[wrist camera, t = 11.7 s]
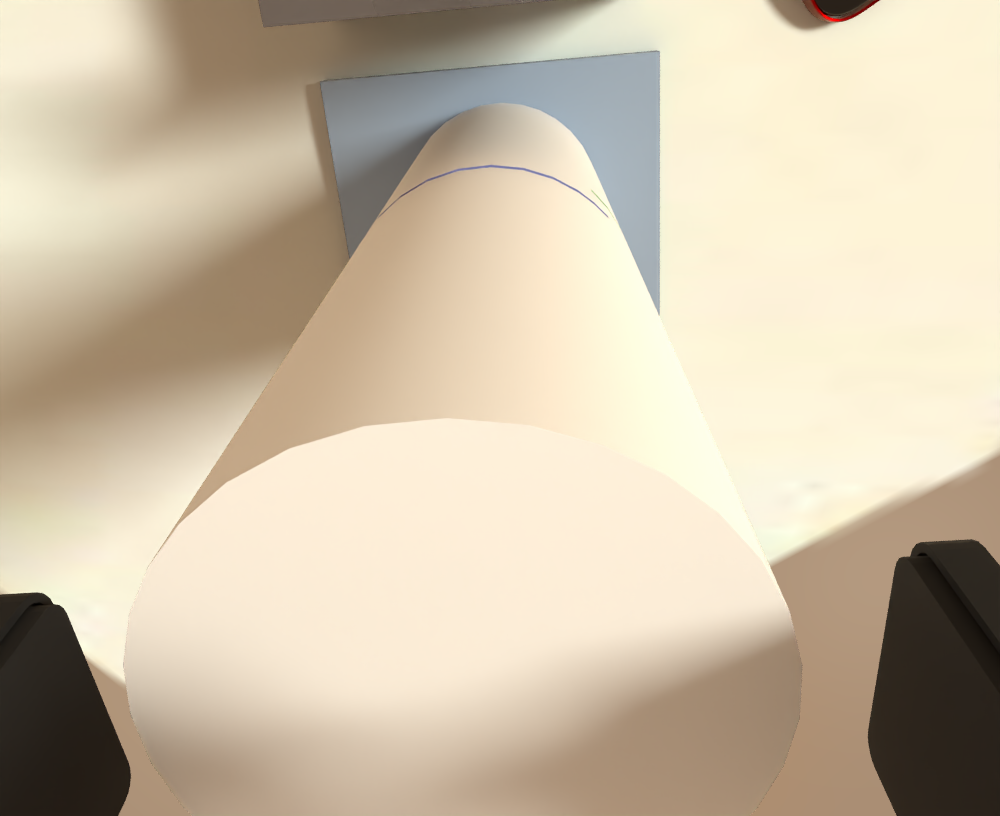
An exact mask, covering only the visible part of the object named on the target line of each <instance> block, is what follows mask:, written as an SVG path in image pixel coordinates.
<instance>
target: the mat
mask: <svg viewBox="0 0 1000 816" xmlns="http://www.w3.org/2000/svg"><path fill="white" fill-rule="evenodd" d="M320 86H321V92H322V98H323V104H324V110H325V116H326V122H327V128H328V134H329V139H330V145H331V151H332V157H333V163H334V169H335V175H336V181H337V187H338V193H339V199H340V205H341V211H342V217H343V223H344V229H345V235H346V241H347V247H348V252H349V258H351V257H352V255H353V254H354V252H355V251H356V249H357V248H358V246H359V244H360V243H361V241H362V240H363V239H364V237H365V235H366V234H367V232H368V231H369V229H370V228H371V226H372V225H373V223H374V222H375V220H376V219H377V217H378V215H379V214H380V212H381V211H382V209H383V208H384V206H385V205H386V203H387V202H388V200H389V199H390V197H391V196H392V194H393V193H394V191H395V190H396V188H397V186H398V185H399V183H400V182H401V180H402V179H403V177H404V176H405V174H406V173H407V171H408V170H409V168H410V167H411V165H412V164H413V162H414V161H415V159H416V158H417V156H418V154H419V153H420V151H421V150H422V149H423V147H424V146H425V144H426V143H427V141H428V140H429V139H430V137H431V136H432V135H433V134H434V133H435V132H436V131H437V130H438V129H439V128H440V127H441V126H442V125H443V124H444V123H445V122H447V121H449V120H450V119H452V118H453V117H455V116H457V115H458V114H460V113H462V112H464V111H467V110H470V109H472V108H475V107H478V106H481V105H488V104H496V103H510V104H521V105H525V106H528V107H531V108H534V109H538V110H541V111H542V112H544V113H546V114H548V115H550V116H552V117H553V118H555V119H557V120H558V121H559V122H560V123H562V124H563V125H564V126H565V127H566V128H568V129H569V130H570V131H571V132H572V133H573V135H574V136H575V137H576V138H577V139H578V141H579V142H580V143H581V144H582V146H583V148H584V150H585V151H586V153H587V155H588V157H589V159H590V161H591V163H592V165H593V167H594V170H595V172H596V174H597V177H598V179H599V181H600V183H601V186H602V188H603V190H604V192H605V195H606V197H607V199H608V201H609V204H610V206H611V208H612V211H613V213H614V215H615V217H616V220H617V222H618V224H619V226H620V229H621V231H622V233H623V235H624V238H625V240H626V242H627V245H628V247H629V249H630V251H631V254H632V256H633V258H634V260H635V263H636V265H637V267H638V269H639V272H640V274H641V276H642V278H643V281H644V283H645V285H646V288H647V290H648V292H649V294H650V297H651V299H652V301H653V303H654V306H655V308H656V310H657V312H658V315H659V313H660V52H659V51H647V52H636V53H625V54H614V55H602V56H591V57H580V58H569V59H558V60H547V61H536V62H524V63H513V64H502V65H491V66H480V67H469V68H458V69H446V70H435V71H424V72H413V73H402V74H391V75H380V76H369V77H357V78H346V79H335V80H324V81H321V82H320Z"/></svg>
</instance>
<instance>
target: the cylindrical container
mask: <svg viewBox="0 0 1000 816" xmlns="http://www.w3.org/2000/svg"><path fill="white" fill-rule="evenodd" d="M123 667H124V674H125V681H126V687H127V694H128V700H129V707H130V714H131V717H132V719H133V722H134V724H135V727H136V729H137V731H138V734H139V736H140V738H141V741H142V743H143V745H144V747H145V750H146V752H147V755H148V757H149V759H150V762H151V764H152V765H153V766H154V768H155V769H156V771H157V772H158V774H159V775H160V776H161V777H162V779H163V780H164V782H165V783H166V785H167V786H168V787H169V789H170V790H171V791H172V793H173V794H174V796H175V797H176V798H177V800H178V801H179V802H180V804H181V805H182V806H183V808H184V809H186V810H187V811H188V812H189V813H190V814H191V815H192V816H750V815H751V814H752V813H753V812H754V811H755V810H756V809H757V808H758V806H759V805H760V803H761V802H762V800H763V798H764V797H765V795H766V794H767V792H768V791H769V789H770V787H771V786H772V784H773V783H774V781H775V779H776V778H777V776H778V774H779V773H780V771H781V770H782V768H783V767H784V764H785V761H786V758H787V755H788V752H789V749H790V746H791V743H792V740H793V737H794V734H795V731H796V728H797V725H798V722H799V718H800V701H801V682H802V662H801V658H800V654H799V649H798V645H797V641H796V636H795V632H794V628H793V624H792V619H791V615H790V611H789V609H788V606H787V604H786V602H785V600H784V598H783V595H782V593H781V591H780V588H779V586H778V584H777V582H776V579H775V577H774V575H773V573H772V570H771V568H770V566H769V564H768V561H767V559H766V557H765V554H764V552H763V550H762V548H761V545H760V543H759V541H758V539H757V536H756V534H755V532H754V530H753V527H752V525H751V523H750V521H749V518H748V516H747V514H746V511H745V509H744V507H743V505H742V502H741V500H740V498H739V496H738V493H737V491H736V489H735V487H734V484H733V482H732V480H731V478H730V475H729V473H728V471H727V468H726V466H725V464H724V462H723V459H722V457H721V455H720V453H719V450H718V448H717V446H716V444H715V441H714V439H713V437H712V435H711V432H710V430H709V428H708V426H707V423H706V421H705V419H704V416H703V414H702V412H701V410H700V407H699V405H698V403H697V401H696V398H695V396H694V394H693V392H692V389H691V387H690V385H689V383H688V380H687V378H686V376H685V373H684V371H683V369H682V367H681V364H680V362H679V360H678V358H677V355H676V353H675V351H674V349H673V346H672V344H671V342H670V340H669V337H668V335H667V333H666V331H665V328H664V326H663V324H662V321H661V319H660V317H659V315H658V312H657V310H656V308H655V306H654V303H653V301H652V299H651V297H650V294H649V292H648V290H647V288H646V285H645V283H644V281H643V278H642V276H641V274H640V272H639V269H638V267H637V265H636V263H635V260H634V258H633V256H632V254H631V251H630V249H629V247H628V245H627V242H626V240H625V238H624V235H623V233H622V231H621V229H620V226H619V224H618V222H617V220H616V217H615V215H614V213H613V211H612V208H611V206H610V204H609V201H608V199H607V197H606V195H605V192H604V190H603V188H602V186H601V183H600V181H599V179H598V177H597V174H596V172H595V170H594V167H593V165H592V163H591V161H590V159H589V157H588V155H587V153H586V151H585V150H584V148H583V146H582V144H581V143H580V142H579V141H578V139H577V138H576V137H575V136H574V135H573V133H572V132H571V131H570V130H569V129H568V128H566V127H565V126H564V125H563V124H562V123H560V122H559V121H558V120H557V119H555V118H553V117H552V116H550V115H548V114H546V113H544V112H542V111H541V110H538V109H534V108H531V107H528V106H525V105H521V104H510V103H496V104H488V105H481V106H478V107H475V108H472V109H470V110H467V111H464V112H462V113H460V114H458V115H457V116H455V117H453V118H452V119H450V120H449V121H447V122H445V123H444V124H443V125H442V126H441V127H440V128H439V129H438V130H437V131H436V132H435V133H434V134H433V135H432V136H431V137H430V139H429V140H428V141H427V143H426V144H425V146H424V147H423V149H422V150H421V151H420V153H419V154H418V156H417V158H416V159H415V161H414V162H413V164H412V165H411V167H410V168H409V170H408V171H407V173H406V174H405V176H404V177H403V179H402V180H401V182H400V183H399V185H398V186H397V188H396V190H395V191H394V193H393V194H392V196H391V197H390V199H389V200H388V202H387V203H386V205H385V206H384V208H383V209H382V211H381V212H380V214H379V215H378V217H377V219H376V220H375V222H374V223H373V225H372V226H371V228H370V229H369V231H368V232H367V234H366V235H365V237H364V239H363V240H362V241H361V243H360V244H359V246H358V248H357V249H356V251H355V252H354V254H353V255H352V257H351V258H350V260H349V261H348V263H347V264H346V266H345V267H344V269H343V270H342V272H341V273H340V275H339V276H338V278H337V280H336V281H335V283H334V284H333V286H332V287H331V289H330V290H329V292H328V293H327V295H326V296H325V298H324V299H323V301H322V302H321V304H320V305H319V307H318V309H317V310H316V312H315V313H314V315H313V316H312V318H311V319H310V321H309V322H308V324H307V325H306V327H305V328H304V330H303V331H302V333H301V334H300V336H299V338H298V339H297V341H296V342H295V344H294V345H293V347H292V348H291V350H290V351H289V353H288V354H287V356H286V357H285V359H284V360H283V362H282V363H281V365H280V366H279V368H278V370H277V371H276V373H275V374H274V376H273V377H272V379H271V380H270V382H269V383H268V385H267V386H266V388H265V389H264V391H263V392H262V394H261V395H260V397H259V399H258V400H257V402H256V403H255V405H254V406H253V408H252V409H251V411H250V412H249V414H248V415H247V417H246V418H245V420H244V421H243V423H242V424H241V426H240V428H239V429H238V431H237V432H236V434H235V435H234V437H233V438H232V440H231V441H230V443H229V444H228V446H227V447H226V449H225V450H224V452H223V453H222V455H221V456H220V458H219V460H218V461H217V463H216V464H215V466H214V467H213V469H212V470H211V472H210V473H209V475H208V476H207V478H206V479H205V481H204V482H203V484H202V485H201V487H200V489H199V490H198V492H197V493H196V495H195V496H194V498H193V499H192V501H191V502H190V504H189V505H188V507H187V508H186V510H185V511H184V513H183V514H182V516H181V518H180V519H179V521H178V522H177V524H176V525H175V527H174V528H173V530H172V531H171V533H170V534H169V536H168V537H167V539H166V540H165V542H164V543H163V545H162V546H161V548H160V550H159V551H158V553H157V554H156V556H155V557H154V559H153V560H152V562H151V563H150V565H149V566H148V568H147V570H146V573H145V575H144V578H143V580H142V583H141V586H140V588H139V591H138V593H137V596H136V598H135V601H134V603H133V606H132V608H131V611H130V613H129V619H128V627H127V636H126V644H125V653H124V661H123Z"/></svg>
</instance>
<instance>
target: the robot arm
mask: <svg viewBox="0 0 1000 816" xmlns="http://www.w3.org/2000/svg"><path fill="white" fill-rule="evenodd" d="M868 743H869V749H870V754H871V758H872V761H873V764H874V767H875V769H876V771H877V774H878V776H879V778H880V780H881V782H882V785H883V787H884V789H885V791H886V793H887V796H888V798H889V800H890V802H891V804H892V806H893V809H894V811H895V813H896V815H897V816H1000V565H999V564H998V563H997V562H996V560H995V559H994V558H993V557H992V556H991V555H990V553H989V552H988V551H987V550H986V548H985V547H984V546H983V545H981V544H980V543H979V542H978V541H975V540H972V539H971V540H954V541H938V542H937V541H936V542H921V543H918V544H916V545H915V547H914V548H913V549H912V552H911V556H910V557H901V558H899V560H898V561H897V563H896V567H895V571H894V577H893V583H892V590H891V596H890V601H889V608H888V614H887V620H886V626H885V632H884V639H883V644H882V650H881V656H880V662H879V669H878V674H877V680H876V686H875V692H874V698H873V705H872V711H871V717H870V723H869V729H868ZM130 779H131V774H130V766H129V763H128V760H127V758H126V755H125V753H124V750H123V748H122V746H121V743H120V741H119V739H118V736H117V734H116V731H115V729H114V726H113V724H112V722H111V719H110V717H109V714H108V712H107V709H106V707H105V705H104V702H103V700H102V697H101V695H100V692H99V690H98V688H97V685H96V683H95V680H94V678H93V676H92V673H91V671H90V668H89V666H88V664H87V661H86V659H85V656H84V654H83V651H82V649H81V647H80V644H79V642H78V639H77V637H76V635H75V632H74V630H73V627H72V625H71V622H70V620H69V618H68V615H67V613H66V612H65V610H64V608H62V607H61V606H60V605H55V604H53V603H52V601H51V599H50V598H49V597H48V596H46V595H45V594H43V593H20V594H2V595H0V816H118V815H119V812H120V810H121V808H122V806H123V804H124V802H125V800H126V797H127V794H128V792H129V787H130Z"/></svg>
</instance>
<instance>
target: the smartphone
mask: <svg viewBox="0 0 1000 816" xmlns="http://www.w3.org/2000/svg"><path fill="white" fill-rule="evenodd" d="M802 1H803V3H804V5H805V6H806V8H807V9H808V10H809V12H810V13H811V14H812V15H814V16H815V17H816V18H818V19H820V20H822V21H826V22H843V21H846V20H849V19H851V18H854V17H855V16H857V15H859V14H861V13H862V12H864V11H865V10H867V9H868V8H869V7H871V6H872V5H874V4H875V3H877V2H878V1H879V0H802ZM847 13H848V14H847ZM844 14H846V15H844ZM841 15H844V16H842V17H838V18H830V17H828V16H841Z"/></svg>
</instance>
